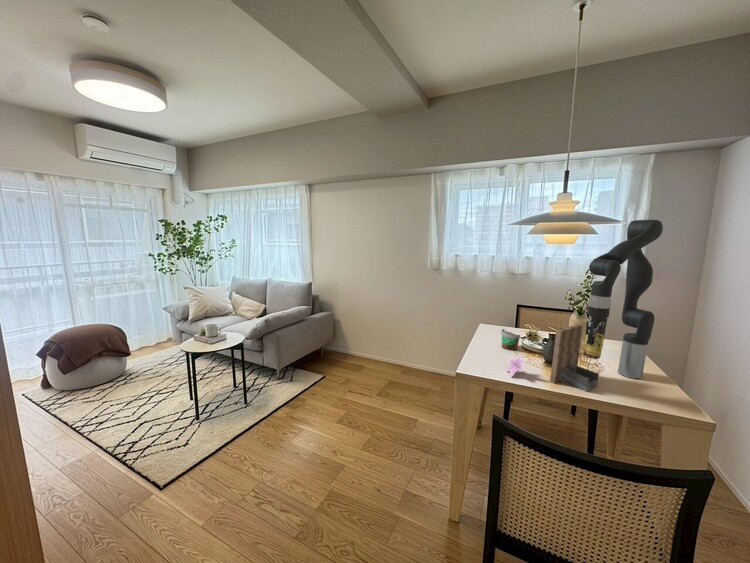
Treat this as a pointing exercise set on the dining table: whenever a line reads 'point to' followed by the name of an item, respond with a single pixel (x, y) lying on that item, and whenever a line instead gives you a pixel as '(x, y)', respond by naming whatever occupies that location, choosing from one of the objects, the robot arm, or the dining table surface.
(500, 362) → the dining table surface
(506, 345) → the food container
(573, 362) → the wavy bookend stand
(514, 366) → the lily
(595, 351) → the sauce bottle
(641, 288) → the robot arm
